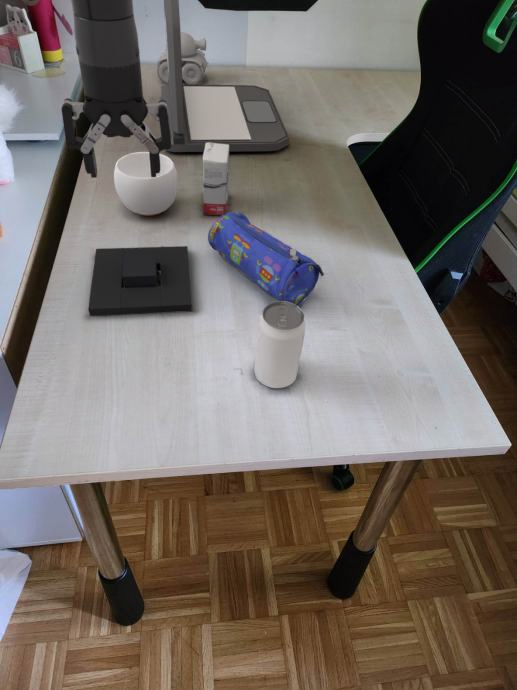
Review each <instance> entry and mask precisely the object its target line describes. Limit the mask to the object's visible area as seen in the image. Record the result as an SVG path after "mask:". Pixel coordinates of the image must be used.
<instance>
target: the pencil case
mask: <svg viewBox="0 0 517 690" xmlns="http://www.w3.org/2000/svg"><path fill="white" fill-rule="evenodd" d="M207 240H208V241H207V242H208V245H209V246H210V247H211V248H212V250H214V251H216V252H217V253H218V254H219V255H220V257H222V258H223V259H224V260H225V261H227V262H228V263H229V264H231V265H232V266H233V267H235V268H236V269H237V270H239V271H240V272H241V273H242V274H243V275H245V276H246V277H247V278H248V279H249V280H250V281H252V282H253V283H254V284H255V285H257V286H258V287H259V288H260V289H261V290H263V291H265V292H266V293H268V294H269V295H270V296H272V298H274V299H276V300H277V301H287V302H291V303H293V304H295V305H297V306H298V307H299V306H300V305H302V303H303V302H304V301H305V300H306V299H307V298H308V296H309V295H310V294H311V293H312V292H313V290H314V288H315V287H316V286H317V284H318V281H319V278H320V277H324V276H325V273H324V271H323V270H322V266H320V264H317V262H316V261H315V260H313V258H311V257H309V256H308V255H305V254H302V253H301V252H299V250H296V249H295V248H292V247H291V246H290V245H288V244H287V243H284V242H283V241H282V240H279V239H278V238H276V237H274V236H273V235H271V234H270V233H268V232H266V231H265V230H263V229H261V228H259V227H258V226H256V225H254V224H252V223H251V222H250V220H249V219H248V217H247V215H245V213H244V212H243V211H229V212H226V214H225V215H220V217H219V218H217V219H216V220H215V221H214V222H213V223H212V225H210V227H209V230H208V233H207Z"/></svg>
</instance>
